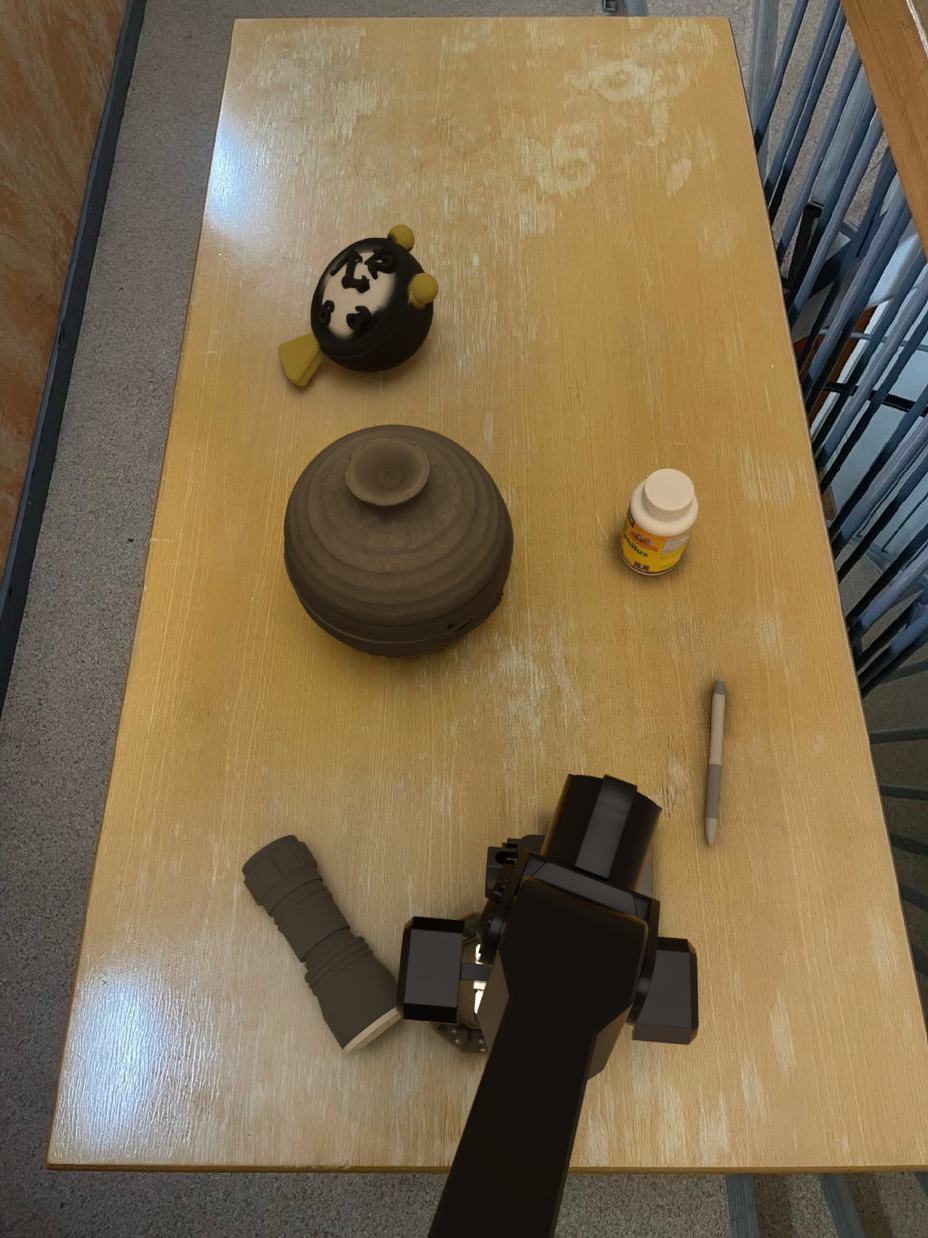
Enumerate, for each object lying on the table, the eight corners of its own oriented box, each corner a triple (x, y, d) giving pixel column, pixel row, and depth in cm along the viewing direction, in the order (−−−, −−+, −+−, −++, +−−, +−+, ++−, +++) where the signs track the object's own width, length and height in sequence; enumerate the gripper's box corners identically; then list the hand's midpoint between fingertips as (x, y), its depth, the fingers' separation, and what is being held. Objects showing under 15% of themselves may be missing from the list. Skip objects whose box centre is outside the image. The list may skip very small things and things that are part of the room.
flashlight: (244, 878, 71) (225, 865, 66) (303, 836, 72) (289, 820, 67) (352, 1056, 65) (341, 1057, 60) (414, 1007, 67) (408, 1004, 62)
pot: (294, 512, 84) (266, 370, 66) (489, 504, 85) (513, 363, 67) (297, 699, 77) (266, 597, 58) (509, 686, 78) (543, 582, 60)
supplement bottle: (607, 537, 83) (622, 473, 73) (662, 515, 84) (683, 449, 74) (635, 587, 80) (654, 528, 71) (692, 565, 81) (718, 503, 72)
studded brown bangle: (548, 1061, 65) (550, 1061, 63) (413, 1049, 66) (411, 1049, 64) (553, 920, 69) (555, 917, 67) (426, 909, 70) (425, 906, 68)
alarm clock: (320, 336, 98) (333, 191, 88) (443, 383, 96) (471, 239, 86) (261, 377, 90) (267, 222, 80) (394, 430, 87) (418, 276, 77)
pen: (724, 682, 77) (728, 675, 75) (714, 849, 71) (718, 845, 70) (711, 680, 77) (715, 674, 75) (701, 847, 71) (705, 843, 70)
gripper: (715, 840, 55) (669, 882, 69) (405, 816, 56) (422, 862, 70) (722, 1046, 50) (671, 1045, 64) (383, 1015, 51) (406, 1022, 65)
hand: (539, 987), depth 66 cm, fingers closed on studded brown bangle, 2 cm apart
